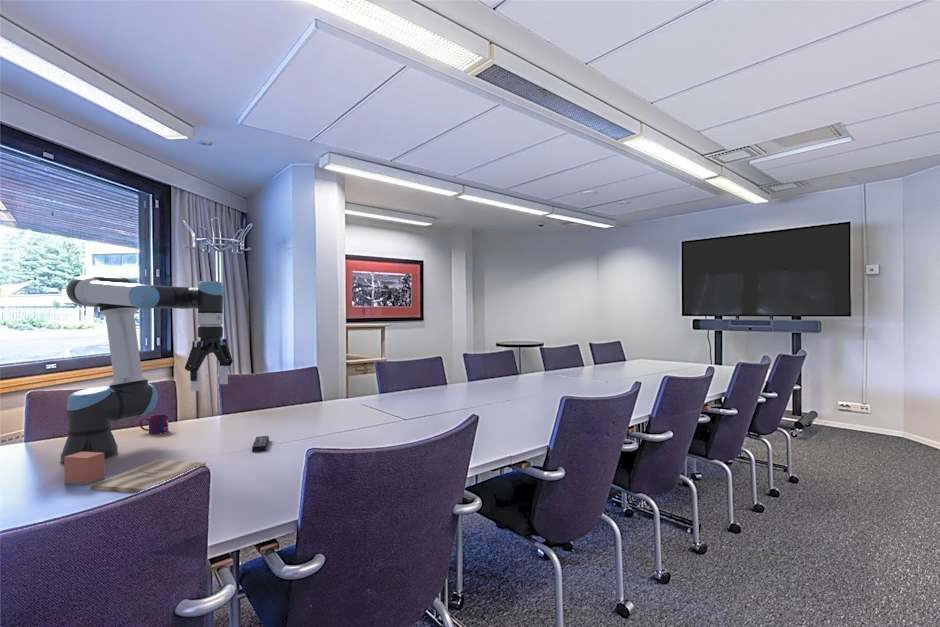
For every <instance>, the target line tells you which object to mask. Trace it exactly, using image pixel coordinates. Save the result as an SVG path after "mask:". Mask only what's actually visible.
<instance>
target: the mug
mask: <svg viewBox="0 0 940 627" xmlns="http://www.w3.org/2000/svg"><path fill="white" fill-rule="evenodd" d="M145 420H146V421H147V422H148V428H145V427H143V424H142V423H143V421H145ZM139 427H140V428H141V430H143V431H146V432H148V434H149V435H161V434H160V433H162V434H166V433H168V432H169V414H155V415H151V416H149V417H148V418H147V417H145V418H141V420H140V422H139ZM165 432H166V433H165Z"/></svg>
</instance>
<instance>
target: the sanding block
mask: <svg viewBox="0 0 940 627" xmlns="http://www.w3.org/2000/svg"><path fill="white" fill-rule="evenodd" d="M63 465H64V467H63V469H64V470H63V471H64V472H63V473H64V484H65V485H73V486H75V485H76V486H91V485H93V484H95V483H98V482H101V481H103V480H105V458H104V453H101V452H78V453H75V454H72V455H68V456H65V457H64V463H63Z"/></svg>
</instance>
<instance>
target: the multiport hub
mask: <svg viewBox="0 0 940 627" xmlns="http://www.w3.org/2000/svg"><path fill="white" fill-rule="evenodd" d="M269 442H270V436H269V435H262V436H256V437H255V440H254V441H253V444H252V446H251V452H252V453H261V452H266V451H267V447H268V445H269Z"/></svg>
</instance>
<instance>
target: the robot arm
mask: <svg viewBox="0 0 940 627" xmlns="http://www.w3.org/2000/svg"><path fill="white" fill-rule="evenodd" d="M223 288H224V286H223V283H222V282H220V281H216V280H200V281H198V283H197V286H196V287H195V286H194V287H193V286H191V287H189V286H186V287H185V286H169V285H151V284H145V283H144V284H143V283H142V284H141V283H139V282H138V281H137V280H136V279H134V278H130V277H124V276H111V275H108V276H107V275H96V274H95V275H94V274H86V275H84V274H83V275H80V276H77V277H74V278H73V279H71V280H70V282H68V283H67V285H66V289H65V290H66V295H67V298H68V299H69V300H70V301H71V302H73V303H75V304H76V305H79V306H82V307H90V308H92V307H93V308H99V314H100V315H102V316H103V317H104V318H105V322H106V329H107V336H108V343H109V344H108V345H109V352H110V360H111V368H112V374H113V375H112V376H113V377H112V378H113V380H112V382H111V383H109V386H105V385H104V386H97V387H90V388H89V387H88V388H85V389H80V390H77V391H75V392H72V393H70V395H68V397H67V404H66V412H67V414H66V415H67V418H66V419H67V424H66V425H67V426H66V427H67V428H66V430H67V431H66V432H67V438H66V440H65V444H64V445H63V448H62V451H61V453H60V462H61V463H63V464H64V457H65V456H68V455H72V454H75V453H78V452H101V453H104V459H107V458H109V457H112V456H114V455H116V454H118V452H119V451H118V443H116V440H115V439H116V438H115V437H114V435H113V432H112V422H113V423H114V422H118V421H122V420H128V419H132V418H138V417H139V418H140V417H141V416H146V415H147V414H149V413H151V412H153V410H154V409H155V407H156V405H157V403H158V390H157V389H156V387H155V385H154V384H150V383H149V379H148V378H147V377H146V376H143V370H142V364H141V358H140V356H141V355H140V350H139V343H138V342H139V341H138V333H137V327H136V319H135V314H137V313H138V311H139V309H145V310H147V309H178V310H179V309H180V310H191V309H193V310H194V309H197V325H198V327H197V337H198V338H200V340H192V344H191V350H190V353H189V355H188V358H187V361H186V363H185V366H184V370H185V371H186V372H190V375H189V376H190V378H189V381H190V391H192V392H200V391H201V370H200V368H201V366H202V364H203V362H204V361H205V358H206V357H207V356H208V355H209V354H214V356H215V357H216V358H217V361H218V362H219V364H220V366H219V378H218V379H219V385H228V384H229V367H230V366H232V364H233V362H234V361H233V358H232V355H231V351H230V349H229V346H228V340H227V338H222V337H223V336H224V335H223V334H224V327H223V326H222V325H223V323H224V322H223V321H224V320H223V315H224V311H223V310H224V289H223Z"/></svg>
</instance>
